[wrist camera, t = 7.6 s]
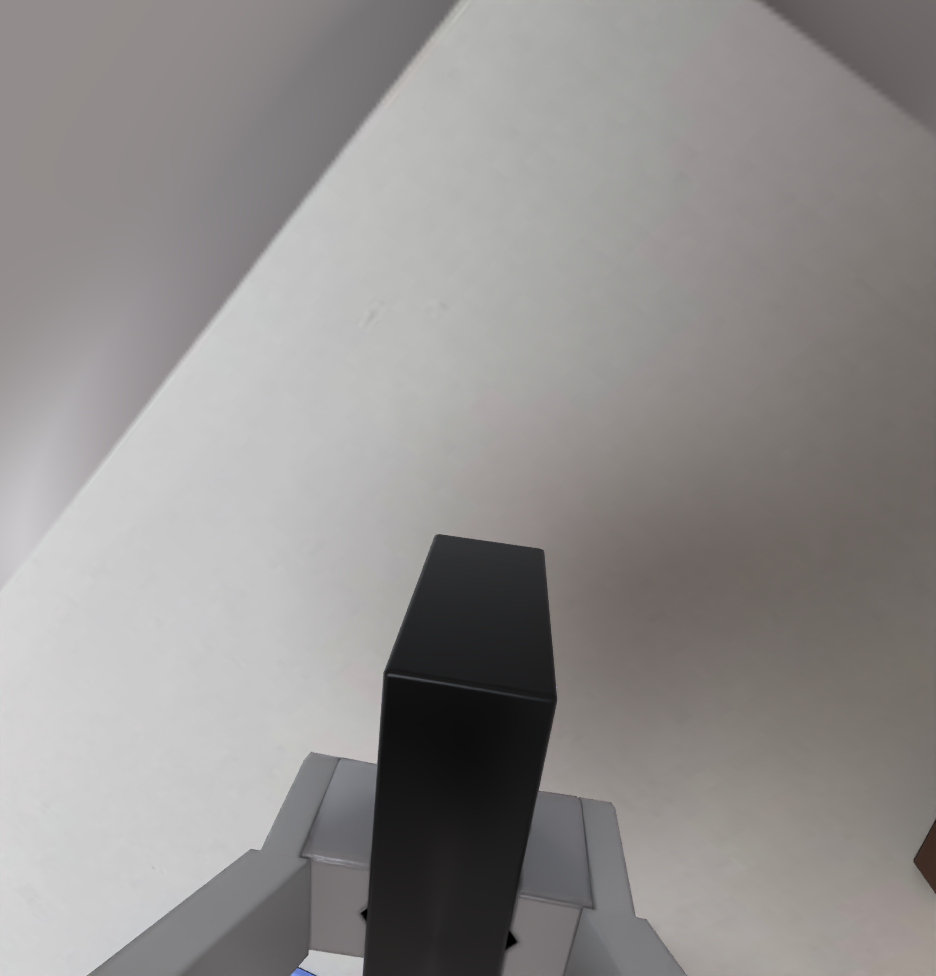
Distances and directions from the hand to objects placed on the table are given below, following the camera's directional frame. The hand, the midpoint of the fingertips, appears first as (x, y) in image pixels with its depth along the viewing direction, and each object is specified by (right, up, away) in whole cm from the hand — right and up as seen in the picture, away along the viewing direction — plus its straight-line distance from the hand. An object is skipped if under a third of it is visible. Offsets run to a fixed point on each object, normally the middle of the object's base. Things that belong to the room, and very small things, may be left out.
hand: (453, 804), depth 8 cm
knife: (0, -5, +3) cm, 6 cm away
